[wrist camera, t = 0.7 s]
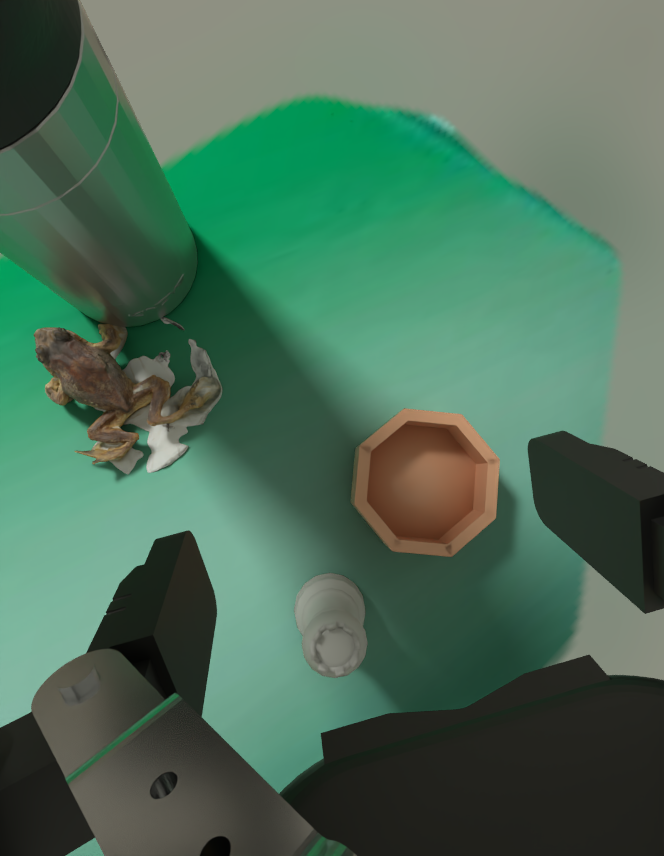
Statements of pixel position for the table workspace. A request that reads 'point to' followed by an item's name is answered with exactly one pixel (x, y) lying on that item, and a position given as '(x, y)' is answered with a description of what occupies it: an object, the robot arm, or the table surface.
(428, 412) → the dish
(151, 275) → the robot arm
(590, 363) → the table surface
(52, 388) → the frog figurine
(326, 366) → the table surface
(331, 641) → the rook chess piece
